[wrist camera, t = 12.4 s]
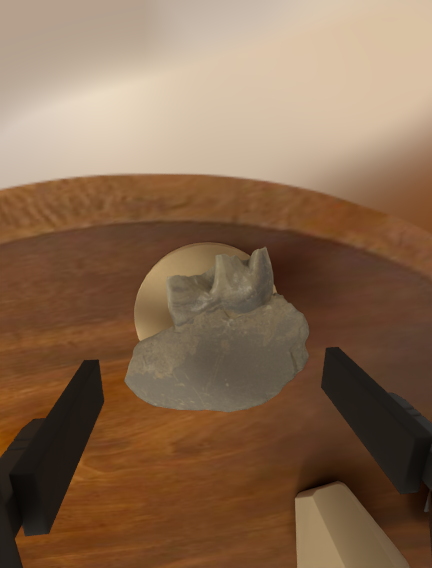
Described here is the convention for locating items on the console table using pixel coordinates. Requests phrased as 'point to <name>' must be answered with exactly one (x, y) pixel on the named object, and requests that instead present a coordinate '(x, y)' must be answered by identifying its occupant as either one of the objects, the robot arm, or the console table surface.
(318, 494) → the perfume bottle
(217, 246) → the maple disc
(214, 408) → the fossil
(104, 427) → the console table surface
